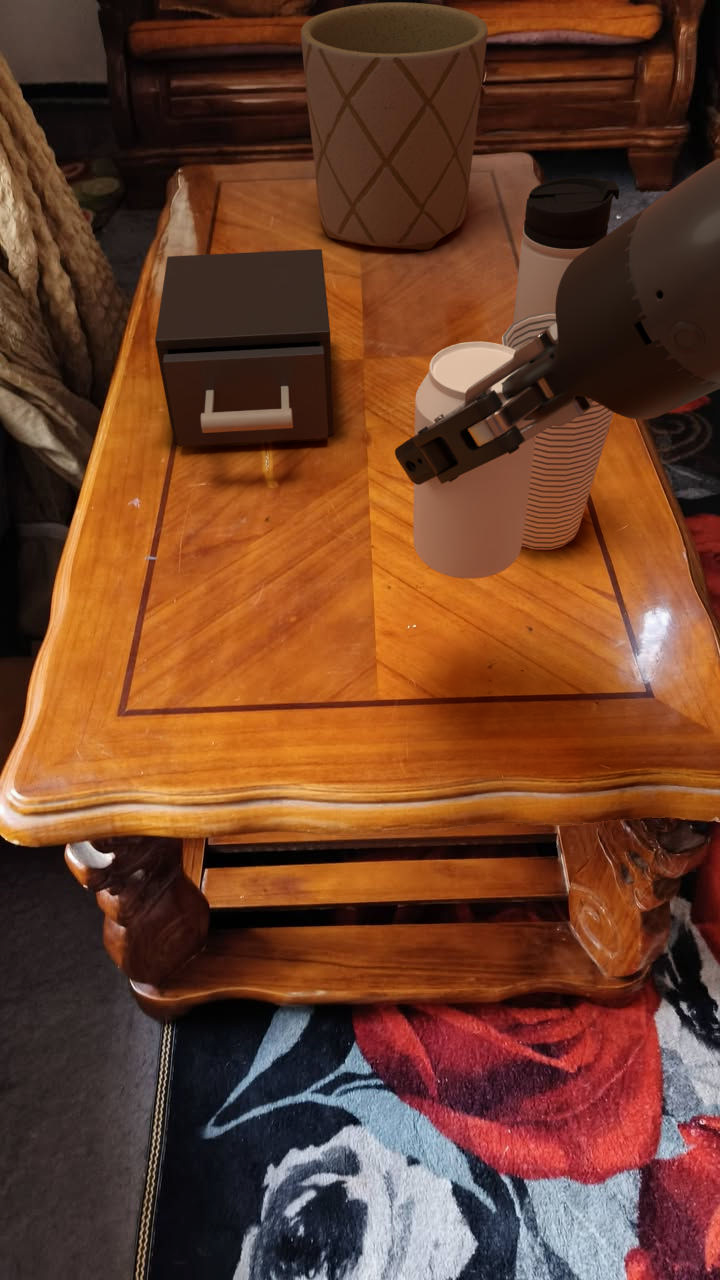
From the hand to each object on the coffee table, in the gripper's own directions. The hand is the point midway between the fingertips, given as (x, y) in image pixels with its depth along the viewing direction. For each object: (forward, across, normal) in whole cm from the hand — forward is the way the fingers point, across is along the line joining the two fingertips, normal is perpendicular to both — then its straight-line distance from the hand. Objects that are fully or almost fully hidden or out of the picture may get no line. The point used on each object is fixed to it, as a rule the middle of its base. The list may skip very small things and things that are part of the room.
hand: (448, 435), depth 51 cm
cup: (+15, -17, +11) cm, 25 cm away
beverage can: (+4, 0, +6) cm, 8 cm away
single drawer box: (+36, -16, -11) cm, 41 cm away
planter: (+46, -52, -20) cm, 72 cm away
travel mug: (+21, -29, +6) cm, 36 cm away
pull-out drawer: (+33, -13, -9) cm, 37 cm away
